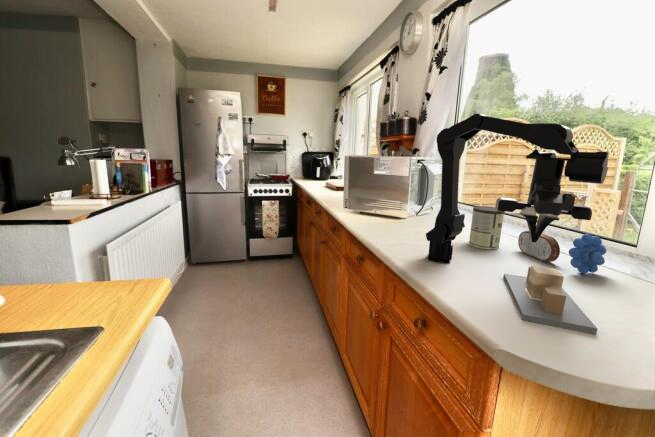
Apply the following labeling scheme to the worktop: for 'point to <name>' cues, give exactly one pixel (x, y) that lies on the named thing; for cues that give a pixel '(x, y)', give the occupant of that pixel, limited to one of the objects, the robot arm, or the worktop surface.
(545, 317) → the board
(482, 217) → the coffee can
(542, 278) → the maple block
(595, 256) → the grapes
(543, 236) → the tin
